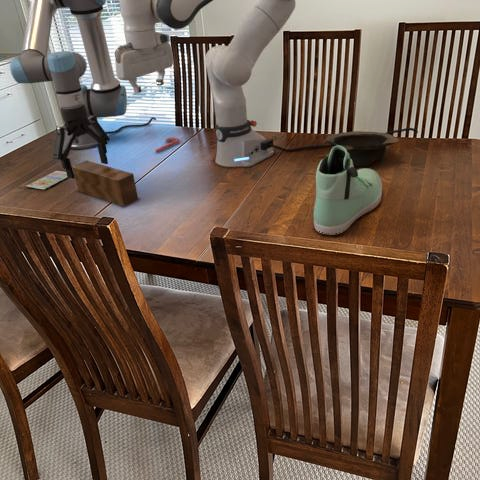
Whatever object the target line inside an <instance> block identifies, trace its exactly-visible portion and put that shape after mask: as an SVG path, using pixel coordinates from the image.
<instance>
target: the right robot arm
mask: <svg viewBox="0 0 480 480" xmlns="http://www.w3.org/2000/svg"><path fill="white" fill-rule="evenodd" d="M213 1H214V0H118V6H119V10H120V16H121V17H122V20H123V33H124V38H125V44H123V45H122V44H120V45H118V46H117V47H116V48H115V50H114V52H113V53H114V62H115V64H114V65H115V73H116V78H117V79H118V80H119V81H124V82H125V81H126V82H127V81H128V83H129V84H130V85H131V87H132V90H133V93H134V94H140V93H142V87H141V85H138V83H137V82H138V78H140V77H144V76H147V75H150V74H153V73H157V74H158V75H157V78H156V79H155V82H156V85H157V86H158V87H162V86H164V84H165V82H164V79H165V75H166V69H170V68H172V67H173V65H174V56H173V54H174V53H173V50H172V46H171V44H170V41H171V38H170V34H166V33H162V32H157V31H156V24H162V25H165V26H167V27H169V28H170V29H173V30H181V29H184V28H186V27H188V26H189V25H190V24H191V23H192V22H193V20H194V19H195V17H196V16H197V14H198V13H199V12H200V11H201V10H202V9H203V8H204V7H206V6H207V5H209V4H210V3H212V2H213ZM296 4H297V3H296V0H259V1H258V2H257V3H256V4H255V5H254V6H253V8H252V9H251V10H250V12H248V14H247V15H246V16H245V17H244V18H243V20H242V21H241V22H240V23H239V24H238V26H237V27H236V28H237V29H236V32H235V34H234V36H233V38H232V39H231V40H230V43H229V44H228V45H223V44H220V45H215V46H212V47H211V48H209V50H208V51H207V52H206V54H205V57H204V64H205V68H206V72H207V77H208V81H209V86H210V87H209V88H210V90H211V95H212V99H213V106H214V115H215V123H214V128H215V129H214V130H215V137H216V154H215V160H214V161H215V164H217V165H218V166H221V167H228V168H236V167H237V168H238V167H246V168H248V167H249V168H250V167H252V166H254V165H256V164H258V163H260V162H261V161H264V160H265V159H268V158H269V157H271V156H273V155H275V152H274V150H273V148H274V149H277V150H280V151H282V152H297V151H301V150H308V149H322V148H323V149H324V148H333V147H334V145H331V144H317V145H303V146H299V147H294V148H284V147H282V146H278V145H276V144H274V139H273V138H267V139H266V137H265V136H263V135H262V134H261V133H258V131H255V130H254V129H253V128H255V127H257V124H258V122H257V121H256V120H252V119H251V120H249V119H248V115H247V98H246V96H245V93H244V90H243V86H244V85H245V84H247V83H248V81H250V78H251V76H252V71H253V68H254V67H255V65H256V63H257V62H258V60H259V57H260V56H261V54H262V53H263V51H264V50H265V49H266V47H267V46H268V45H269V44H270V43H271V41H272V40H273V39H274V38H275V37H276V36H277V35H278V33H279V32H280V31H281V30H282V29H283V27H284V26H285V25H286V23H287V22H288V20H289V19H290V18H291V15H292V14H293V12H294V11H295V9H296ZM252 127H253V128H252ZM407 131H412V132H414V133H415V134H416V133H417V134H418V133H419V131H418V130H417V129H415V128H414V127H405V128H402V129H395V130H391V131H387V132H384V133H385V134H389V135H392V134H397V133H402V132H407Z"/></svg>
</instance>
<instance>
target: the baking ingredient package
mask: <svg viewBox="0 0 480 480" xmlns="http://www.w3.org/2000/svg"><path fill="white" fill-rule="evenodd" d="M67 178H68V177H67V173H66V171H62V170H55V171H53V172H51V173H49V174H46V175H45V176H43V177H41V178H39V179H37V180H35V181H33V182H31V183H29V184H27V185H26V187H28V188H33V189H38V190H46V189H47V188H50V187H51V186H53V185H55V184H57V183H59V182H60V181H64V180H65V179H67Z"/></svg>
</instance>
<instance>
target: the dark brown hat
mask: <svg viewBox="0 0 480 480" xmlns="http://www.w3.org/2000/svg"><path fill="white" fill-rule="evenodd" d="M385 133H386V132H380V131H379V132H378V131H362V130H361V131H360V130H354V131H353V130H352V131H345V132H343V131H342V132H338V133H333V134H330V135H328V136H326V138H325V141H324V143H327V145H329V144H331V145H334V146H342V147H344V148H345V149H346V150H347V152H348V153H349V156H350V159H352V161H353V166H354V167H361V166H370V165H372V164H373V162H374V161H383V160H384V159H385V157H386V152H387V151H386V150H387V147H389V146H391V145H394V144H396V143H398V142H399V139H398V138H397V137H395V136H394V135H392V134H385Z"/></svg>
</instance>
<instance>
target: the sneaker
mask: <svg viewBox="0 0 480 480" xmlns="http://www.w3.org/2000/svg"><path fill="white" fill-rule="evenodd" d="M317 165H318V166H317V168H316V172H315V201H314V207H313V225H314V229H315V231H316V232H318V233H320V234H323V235H326V236H327V235H328V236H336V235H339V234H342V233H344V232H345V231H347V230H348V229H349V228H350V227H351V226H352V225H353V224H354V222H356V221H357V220H358V219H359V218H360V217H362V216H363V215H365V214H367V213H370V212H372V210H374V209H375V208H377V207H378V205H380V203H381V200H382V196H383V184H382V183H383V182H382V179H381V176H380V175H379V173H378V172H377V171H376V170H374V169H372V168H367V167H365V168H358V169H357V168H355V166H353V161H352V159H350V156H349V153H348V152H347V150H346V149H345V148H344V147H342V146H334V147H331V149H330V151H329V154H327V155H326V156H325V157H324V158H322V159H321V160H320V161H319V163H318V164H317ZM343 230H344V231H343ZM319 231H320V232H319ZM322 232H323V233H322ZM339 232H340V233H339ZM326 233H327V234H326ZM328 233H329V234H328ZM335 233H337V234H335Z"/></svg>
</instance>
